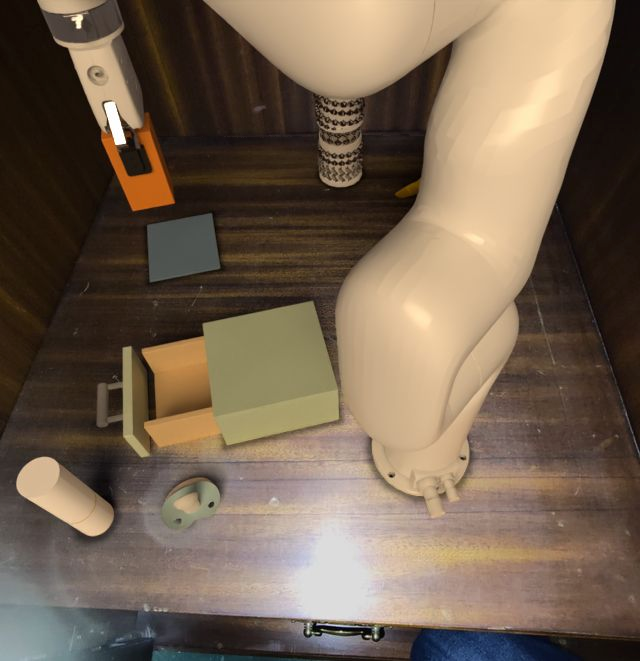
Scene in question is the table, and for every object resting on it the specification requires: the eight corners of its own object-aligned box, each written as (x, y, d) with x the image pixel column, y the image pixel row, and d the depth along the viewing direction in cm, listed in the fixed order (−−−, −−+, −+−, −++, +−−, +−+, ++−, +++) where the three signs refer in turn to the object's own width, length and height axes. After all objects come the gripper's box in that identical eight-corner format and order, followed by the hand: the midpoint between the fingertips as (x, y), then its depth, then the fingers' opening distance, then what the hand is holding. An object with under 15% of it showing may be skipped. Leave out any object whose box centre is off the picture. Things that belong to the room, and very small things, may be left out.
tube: (116, 500, 66) (64, 455, 54) (110, 535, 64) (53, 497, 51) (83, 501, 66) (23, 457, 54) (75, 536, 64) (10, 499, 51)
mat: (220, 268, 88) (220, 267, 88) (150, 282, 87) (149, 280, 87) (212, 214, 96) (211, 212, 96) (147, 226, 95) (146, 224, 95)
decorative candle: (372, 167, 102) (379, 35, 82) (349, 194, 98) (349, 62, 78) (333, 153, 105) (329, 23, 85) (308, 179, 101) (298, 48, 81)
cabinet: (227, 445, 70) (213, 417, 63) (215, 356, 78) (202, 323, 71) (339, 419, 71) (338, 389, 64) (316, 335, 79) (313, 300, 72)
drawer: (109, 465, 68) (87, 444, 62) (110, 379, 75) (91, 354, 70) (249, 433, 70) (240, 410, 64) (236, 352, 77) (227, 325, 72)
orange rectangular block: (175, 203, 74) (150, 131, 64) (132, 211, 73) (101, 139, 64) (172, 184, 76) (148, 111, 67) (131, 191, 76) (101, 119, 66)
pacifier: (158, 496, 66) (172, 539, 63) (142, 478, 61) (156, 524, 58) (212, 470, 68) (228, 511, 65) (200, 450, 63) (217, 493, 60)
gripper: (121, 49, 50) (172, 196, 65) (118, -21, 60) (163, 121, 75) (42, 62, 50) (112, 208, 65) (52, -12, 59) (111, 130, 74)
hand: (139, 160), depth 70 cm, fingers closed on orange rectangular block, 4 cm apart
